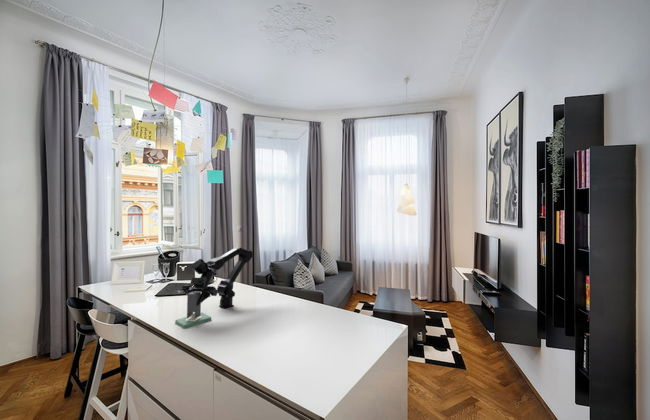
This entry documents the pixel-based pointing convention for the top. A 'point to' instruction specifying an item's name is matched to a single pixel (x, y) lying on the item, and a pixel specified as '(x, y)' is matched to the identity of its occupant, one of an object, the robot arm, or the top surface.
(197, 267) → the robot arm
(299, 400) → the top surface
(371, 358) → the top surface
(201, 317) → the board
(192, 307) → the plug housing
